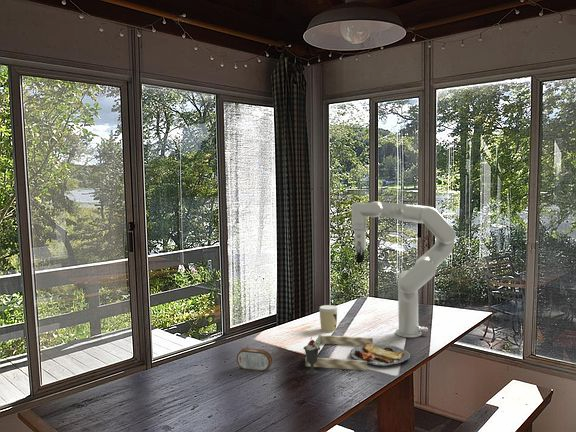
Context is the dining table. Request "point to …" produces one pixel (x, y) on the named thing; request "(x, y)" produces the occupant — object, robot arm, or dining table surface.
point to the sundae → (312, 356)
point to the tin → (254, 359)
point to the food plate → (379, 354)
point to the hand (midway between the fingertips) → (360, 261)
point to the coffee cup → (328, 318)
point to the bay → (341, 362)
